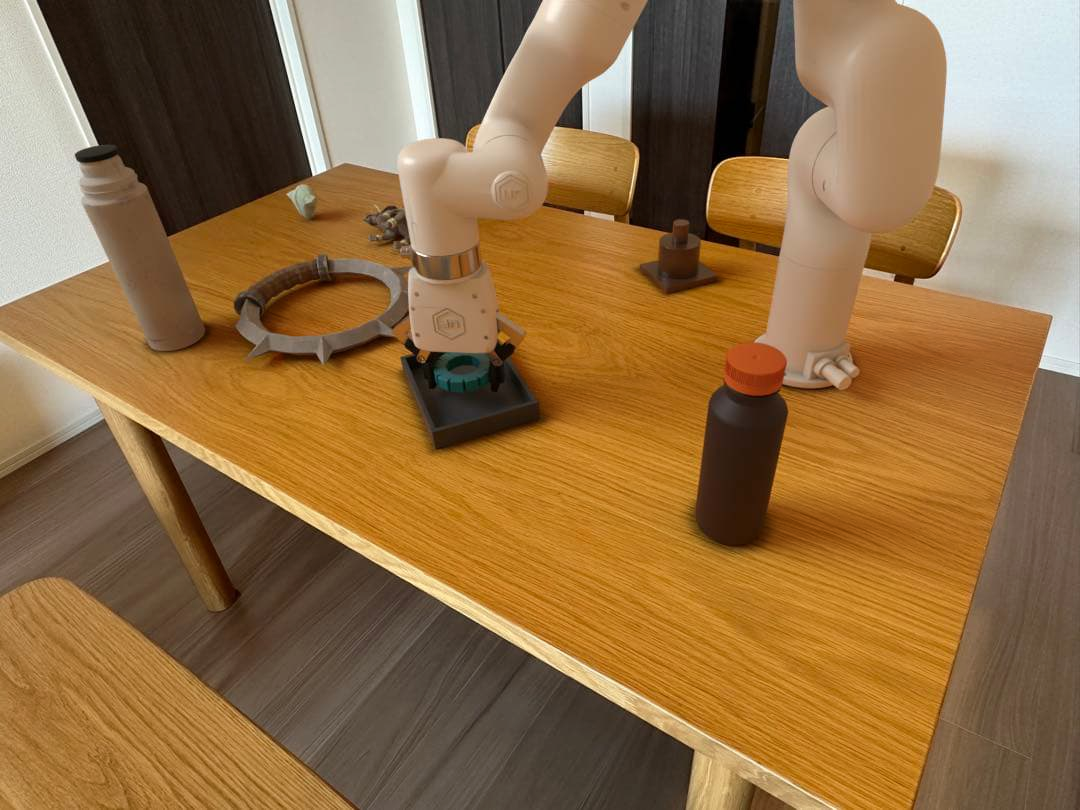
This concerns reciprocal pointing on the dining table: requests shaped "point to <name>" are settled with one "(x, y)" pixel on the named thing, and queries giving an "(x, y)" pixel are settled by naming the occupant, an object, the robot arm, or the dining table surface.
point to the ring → (461, 381)
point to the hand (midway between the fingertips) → (465, 383)
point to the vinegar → (742, 445)
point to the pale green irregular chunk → (304, 200)
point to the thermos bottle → (138, 249)
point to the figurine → (389, 224)
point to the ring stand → (678, 261)
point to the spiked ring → (261, 292)
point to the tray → (470, 404)
